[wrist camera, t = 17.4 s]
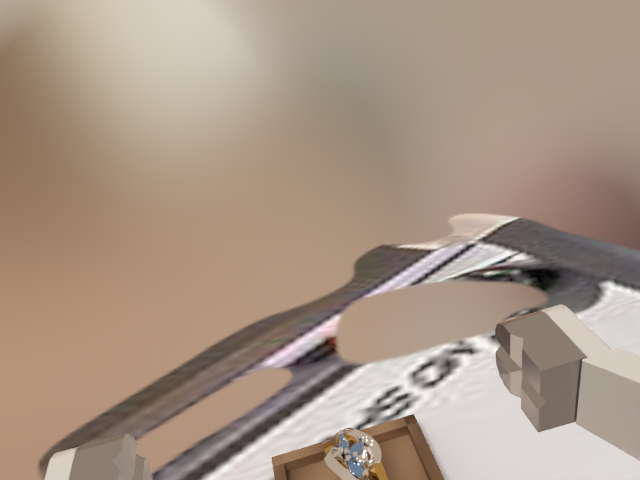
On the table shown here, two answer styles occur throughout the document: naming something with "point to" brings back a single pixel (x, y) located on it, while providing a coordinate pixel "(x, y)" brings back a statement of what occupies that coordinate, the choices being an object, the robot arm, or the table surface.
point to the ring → (354, 456)
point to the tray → (396, 448)
